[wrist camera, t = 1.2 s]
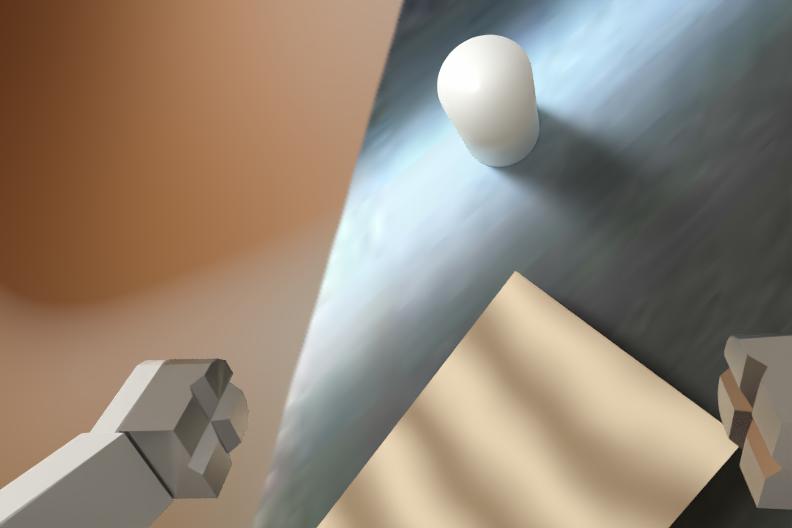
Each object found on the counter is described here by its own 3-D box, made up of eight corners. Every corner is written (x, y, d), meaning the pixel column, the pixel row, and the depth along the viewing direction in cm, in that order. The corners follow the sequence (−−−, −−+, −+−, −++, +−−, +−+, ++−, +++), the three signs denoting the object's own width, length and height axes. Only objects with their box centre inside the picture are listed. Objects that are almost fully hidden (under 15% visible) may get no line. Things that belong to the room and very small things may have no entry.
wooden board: (521, 275, 36) (515, 270, 31) (717, 420, 32) (744, 440, 28) (326, 527, 39) (293, 557, 34) (487, 690, 35) (475, 750, 30)
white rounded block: (494, 80, 38) (474, 18, 30) (555, 119, 36) (552, 64, 28) (449, 141, 38) (419, 96, 30) (508, 181, 37) (492, 145, 29)
